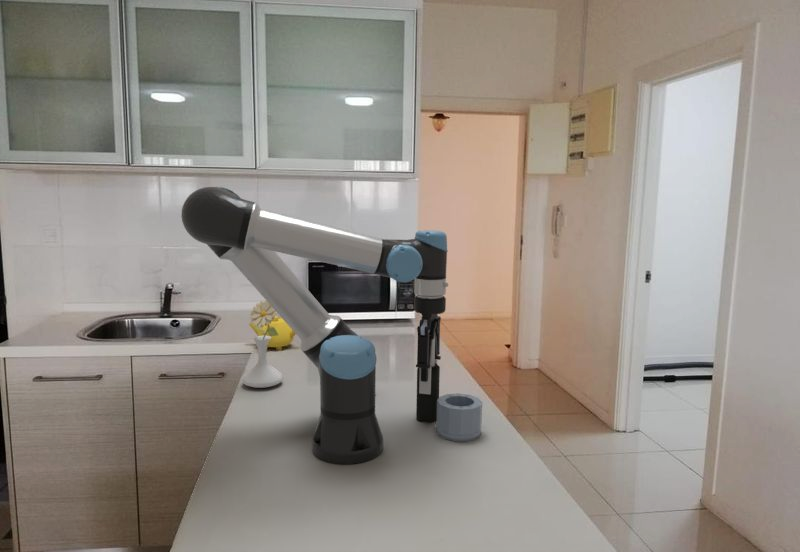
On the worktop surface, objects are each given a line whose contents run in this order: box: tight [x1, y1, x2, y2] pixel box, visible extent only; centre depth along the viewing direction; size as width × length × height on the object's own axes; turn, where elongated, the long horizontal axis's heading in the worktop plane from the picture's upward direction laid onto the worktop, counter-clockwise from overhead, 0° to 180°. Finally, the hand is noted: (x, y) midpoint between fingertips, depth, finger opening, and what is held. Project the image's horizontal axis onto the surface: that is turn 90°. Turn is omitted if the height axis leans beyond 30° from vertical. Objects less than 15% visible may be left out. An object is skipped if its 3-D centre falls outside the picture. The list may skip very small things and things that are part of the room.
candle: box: [415, 335, 441, 423], centre depth 136 cm, size 5×5×25 cm
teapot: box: [248, 315, 297, 351], centre depth 201 cm, size 20×18×11 cm
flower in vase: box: [242, 300, 284, 389], centre depth 159 cm, size 13×11×25 cm
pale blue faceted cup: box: [436, 392, 483, 443], centre depth 129 cm, size 10×10×8 cm
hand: (428, 389), depth 137 cm, fingers closed on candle, 5 cm apart
